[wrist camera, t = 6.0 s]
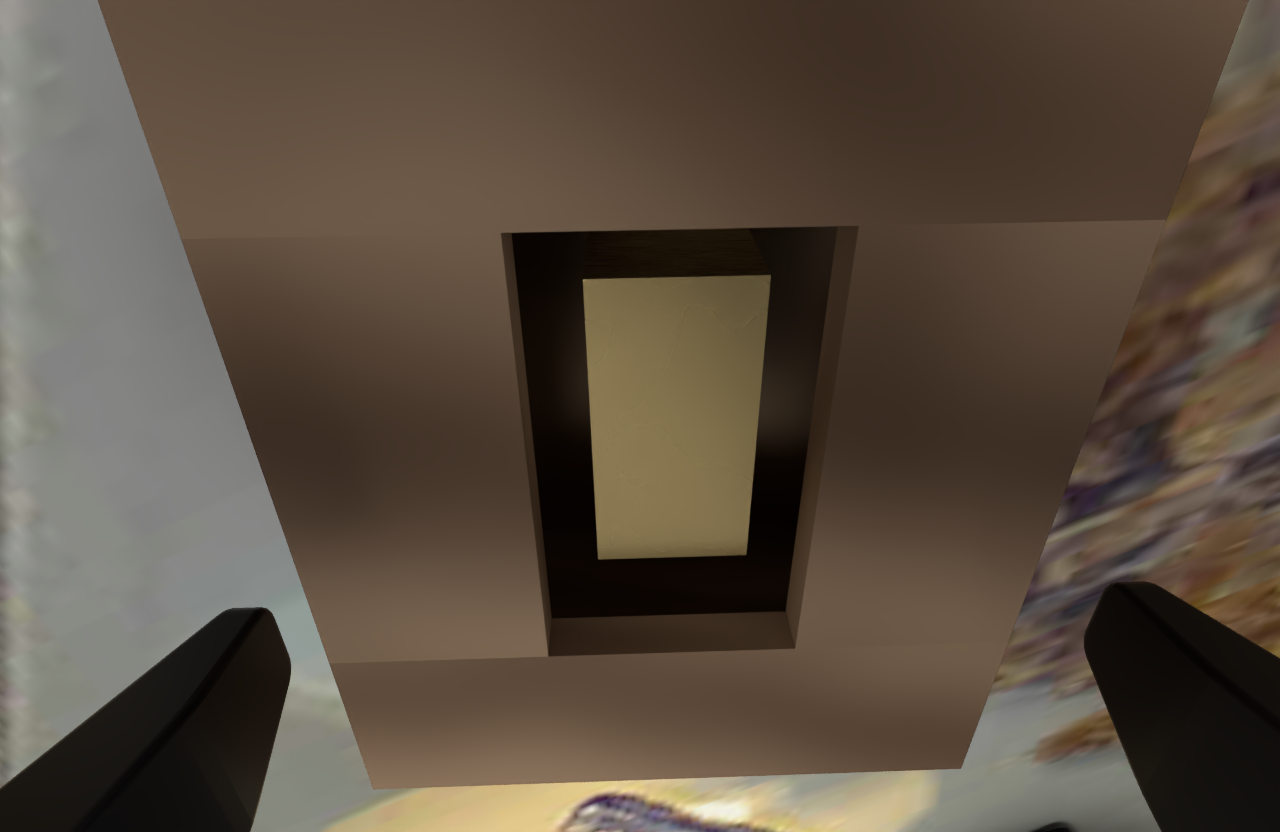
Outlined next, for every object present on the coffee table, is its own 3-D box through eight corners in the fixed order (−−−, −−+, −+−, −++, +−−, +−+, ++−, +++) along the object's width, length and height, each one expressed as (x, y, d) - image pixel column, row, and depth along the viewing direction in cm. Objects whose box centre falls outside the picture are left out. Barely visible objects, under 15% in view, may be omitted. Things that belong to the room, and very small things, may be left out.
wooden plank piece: (712, 401, 17) (745, 555, 13) (601, 404, 17) (597, 559, 13) (723, 175, 14) (770, 275, 10) (591, 178, 14) (582, 279, 10)
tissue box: (857, 524, 20) (961, 768, 14) (444, 535, 20) (373, 789, 14) (981, -119, 12) (1313, -174, 7) (316, -112, 12) (40, -163, 6)
